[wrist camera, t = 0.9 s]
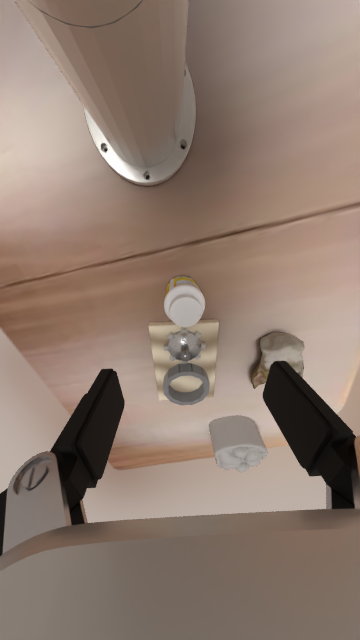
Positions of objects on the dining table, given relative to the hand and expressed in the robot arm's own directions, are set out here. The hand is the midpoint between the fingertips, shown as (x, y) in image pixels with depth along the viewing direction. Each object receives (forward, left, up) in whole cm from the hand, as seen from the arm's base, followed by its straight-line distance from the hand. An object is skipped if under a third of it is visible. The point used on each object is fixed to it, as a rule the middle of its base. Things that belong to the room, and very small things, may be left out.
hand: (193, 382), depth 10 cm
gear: (+10, 0, -19) cm, 22 cm away
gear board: (+16, 0, -21) cm, 26 cm away
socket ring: (+20, 0, -19) cm, 28 cm away
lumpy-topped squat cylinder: (+41, +13, -21) cm, 48 cm away
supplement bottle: (0, 0, -21) cm, 21 cm away
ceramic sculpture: (+15, +19, -21) cm, 32 cm away
